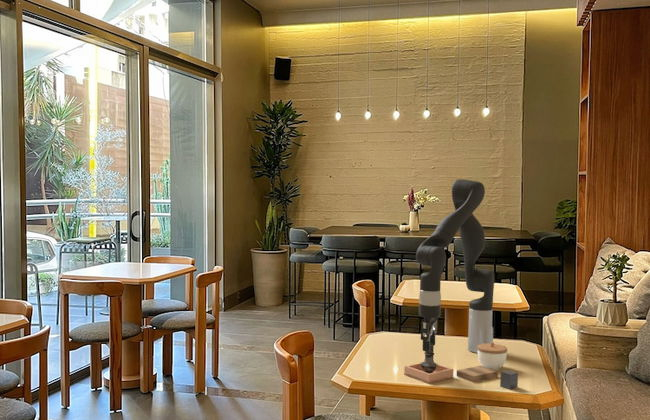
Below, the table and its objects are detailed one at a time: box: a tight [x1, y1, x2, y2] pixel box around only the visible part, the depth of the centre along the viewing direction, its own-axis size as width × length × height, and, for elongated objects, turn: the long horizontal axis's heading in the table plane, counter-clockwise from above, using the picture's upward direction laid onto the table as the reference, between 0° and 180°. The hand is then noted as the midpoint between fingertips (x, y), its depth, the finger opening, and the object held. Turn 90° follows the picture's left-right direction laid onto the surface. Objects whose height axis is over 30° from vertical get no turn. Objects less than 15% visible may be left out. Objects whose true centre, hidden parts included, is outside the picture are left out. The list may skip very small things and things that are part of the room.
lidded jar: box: [477, 341, 508, 371], centre depth 235 cm, size 11×11×9 cm
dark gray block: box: [499, 369, 519, 390], centre depth 213 cm, size 4×4×5 cm
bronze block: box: [456, 365, 499, 383], centre depth 224 cm, size 12×8×2 cm, turn 123°
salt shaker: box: [420, 341, 438, 373], centre depth 224 cm, size 6×6×12 cm
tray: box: [403, 361, 454, 384], centre depth 224 cm, size 12×12×3 cm
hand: (428, 348), depth 224 cm, fingers open, 8 cm apart
